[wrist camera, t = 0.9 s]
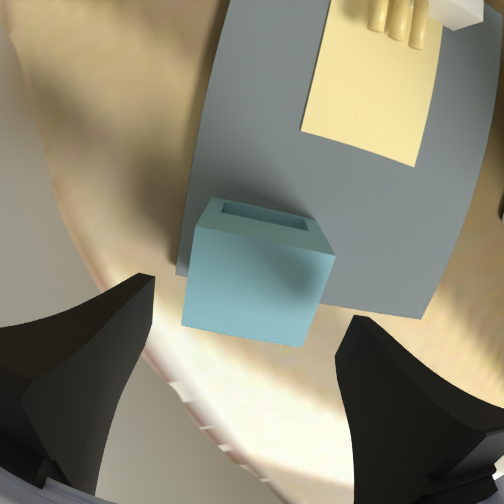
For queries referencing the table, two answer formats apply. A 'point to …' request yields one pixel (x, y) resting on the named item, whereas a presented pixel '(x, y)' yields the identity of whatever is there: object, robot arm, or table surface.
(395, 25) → the header
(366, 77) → the mat
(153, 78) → the table surface
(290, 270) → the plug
